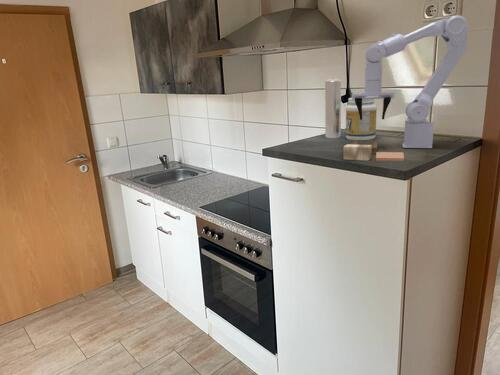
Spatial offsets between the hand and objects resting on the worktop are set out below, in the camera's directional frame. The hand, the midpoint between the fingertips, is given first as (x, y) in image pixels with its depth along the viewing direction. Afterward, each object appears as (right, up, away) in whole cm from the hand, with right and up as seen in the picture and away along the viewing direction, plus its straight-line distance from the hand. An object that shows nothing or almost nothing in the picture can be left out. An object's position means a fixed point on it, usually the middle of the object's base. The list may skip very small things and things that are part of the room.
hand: (371, 119), depth 140 cm
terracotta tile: (+1, -15, -16) cm, 22 cm away
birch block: (-6, -14, -16) cm, 22 cm away
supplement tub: (+2, -5, +22) cm, 23 cm away
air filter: (-8, -3, +30) cm, 31 cm away
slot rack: (-3, -12, -2) cm, 13 cm away
